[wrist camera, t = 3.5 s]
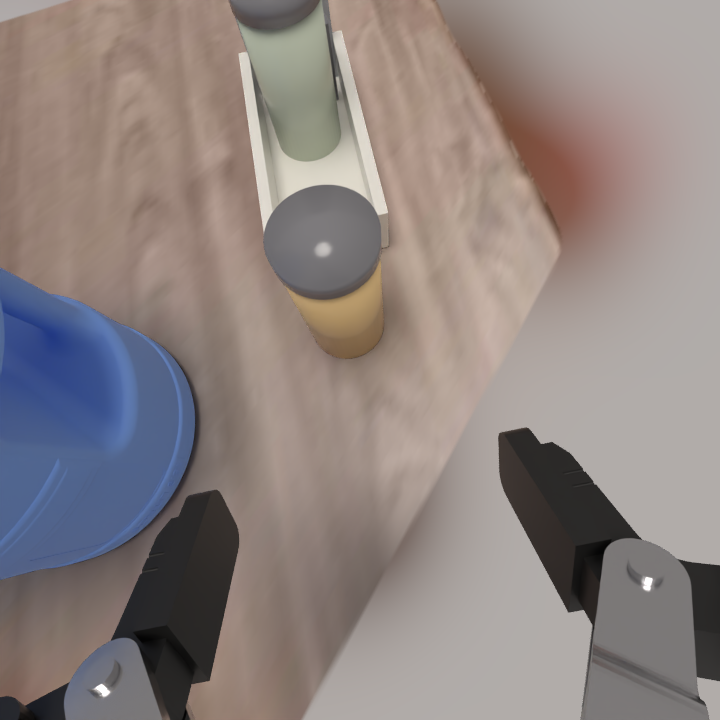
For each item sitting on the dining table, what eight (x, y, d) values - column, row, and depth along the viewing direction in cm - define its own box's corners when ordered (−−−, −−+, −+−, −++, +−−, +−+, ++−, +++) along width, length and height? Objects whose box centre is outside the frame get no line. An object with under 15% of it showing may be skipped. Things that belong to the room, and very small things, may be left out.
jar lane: (388, 246, 30) (387, 180, 23) (281, 269, 30) (249, 210, 23) (346, 78, 35) (336, -15, 28) (255, 99, 35) (223, 10, 29)
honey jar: (304, 354, 28) (251, 281, 17) (318, 286, 29) (277, 180, 19) (379, 364, 27) (371, 294, 17) (390, 294, 29) (388, 188, 18)
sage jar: (271, 160, 32) (211, 4, 21) (284, 108, 33) (235, -62, 23) (336, 164, 31) (307, 6, 21) (347, 111, 33) (325, -62, 22)
